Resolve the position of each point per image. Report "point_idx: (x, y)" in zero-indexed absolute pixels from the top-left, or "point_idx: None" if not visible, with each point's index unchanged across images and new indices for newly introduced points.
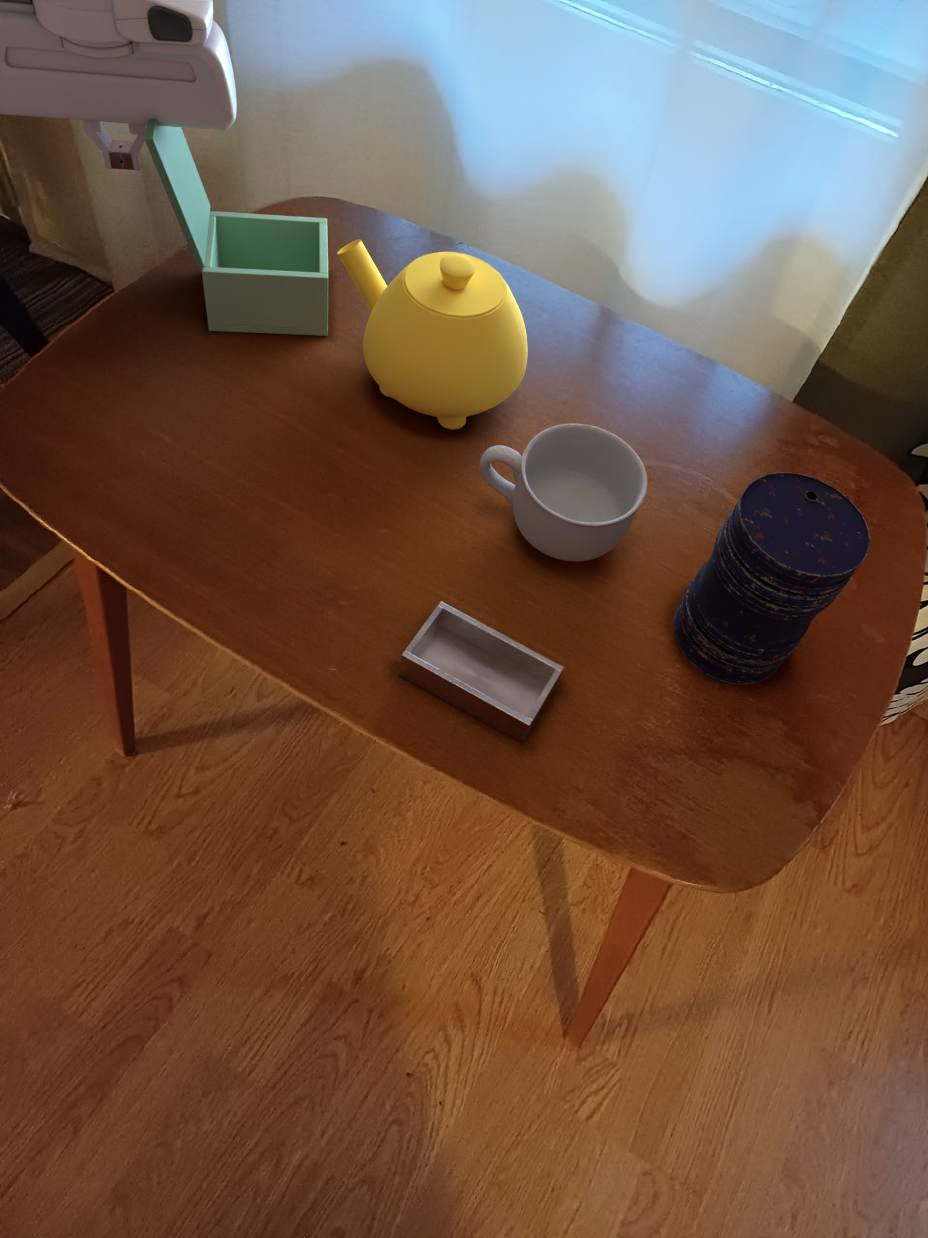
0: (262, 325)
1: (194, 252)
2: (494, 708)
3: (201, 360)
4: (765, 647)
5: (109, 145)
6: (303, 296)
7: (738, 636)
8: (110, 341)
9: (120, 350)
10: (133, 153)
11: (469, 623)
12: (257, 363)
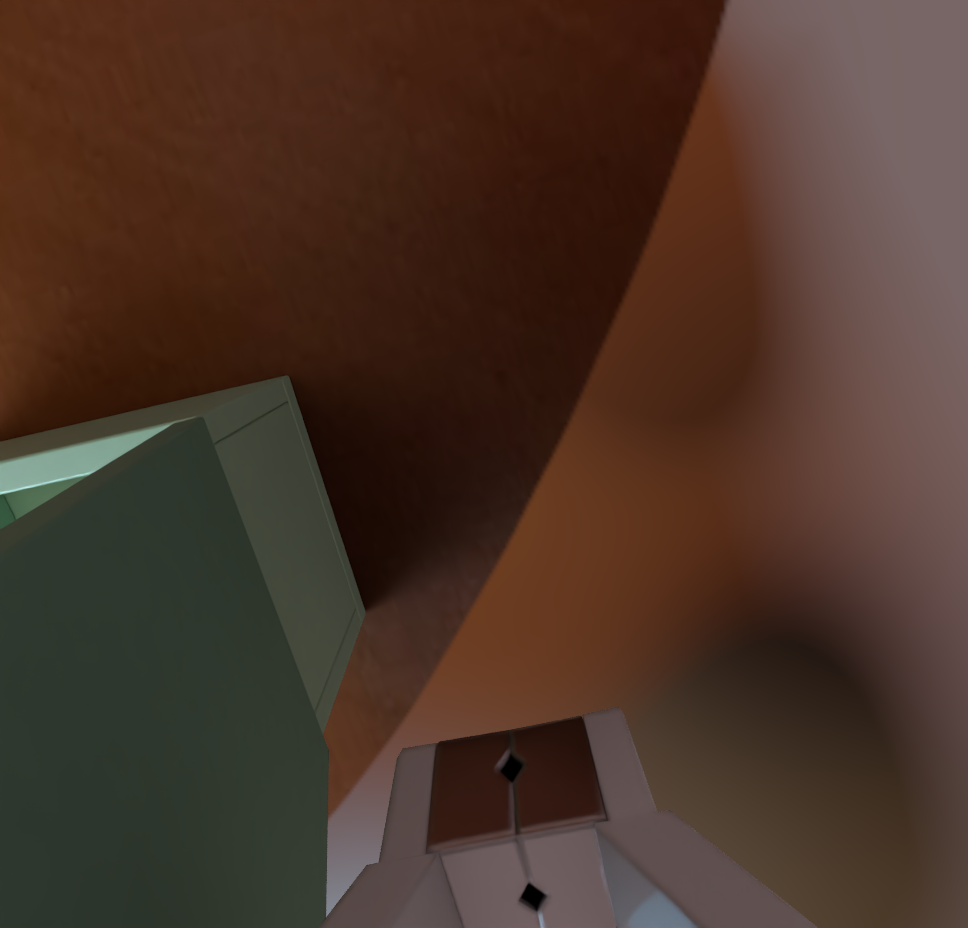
0: (130, 413)
1: (170, 431)
2: None
3: (261, 242)
4: None
5: (613, 878)
6: None
7: None
8: (533, 251)
9: (494, 219)
10: (408, 849)
11: None
12: (107, 276)
